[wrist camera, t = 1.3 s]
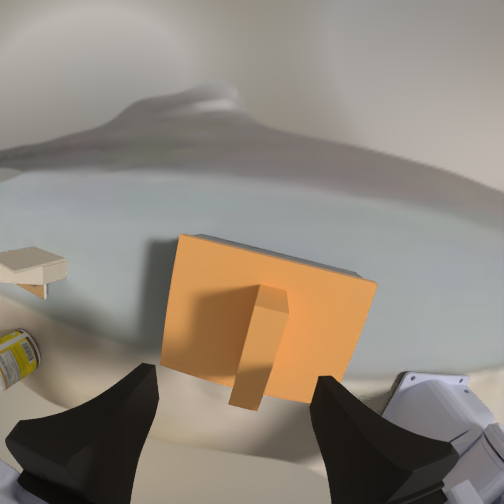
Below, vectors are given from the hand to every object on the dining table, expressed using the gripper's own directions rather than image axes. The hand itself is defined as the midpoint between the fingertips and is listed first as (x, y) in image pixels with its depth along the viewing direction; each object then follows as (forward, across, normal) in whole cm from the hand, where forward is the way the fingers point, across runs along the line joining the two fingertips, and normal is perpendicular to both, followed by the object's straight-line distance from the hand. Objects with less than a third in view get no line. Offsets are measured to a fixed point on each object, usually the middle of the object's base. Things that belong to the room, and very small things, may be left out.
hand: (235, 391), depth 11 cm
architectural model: (+14, +20, -1) cm, 24 cm away
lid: (+8, -2, 0) cm, 8 cm away
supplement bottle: (+13, +26, +12) cm, 32 cm away
